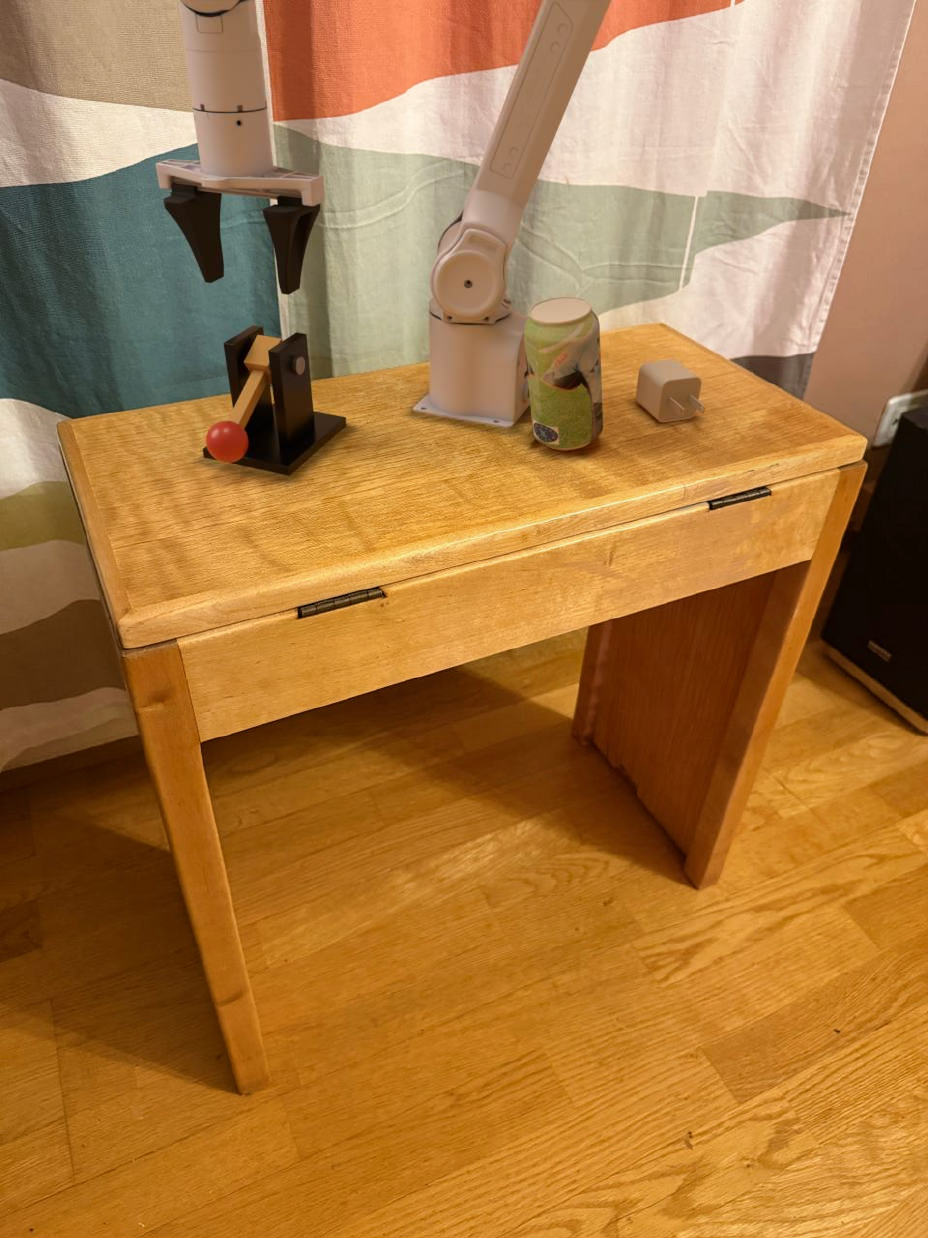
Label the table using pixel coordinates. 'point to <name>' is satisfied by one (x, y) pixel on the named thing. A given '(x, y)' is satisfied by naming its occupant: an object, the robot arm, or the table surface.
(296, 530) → the table surface
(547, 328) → the beverage can
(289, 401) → the switch bracket
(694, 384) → the usb wall charger
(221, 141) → the robot arm
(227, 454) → the switch lever
